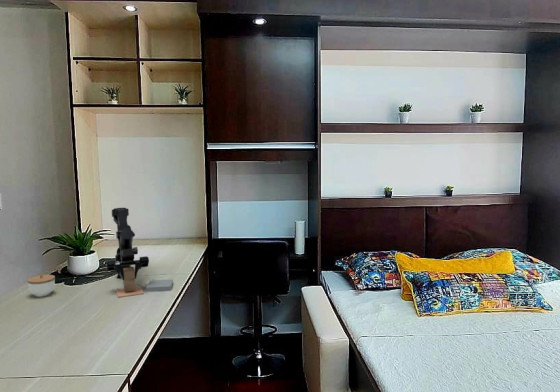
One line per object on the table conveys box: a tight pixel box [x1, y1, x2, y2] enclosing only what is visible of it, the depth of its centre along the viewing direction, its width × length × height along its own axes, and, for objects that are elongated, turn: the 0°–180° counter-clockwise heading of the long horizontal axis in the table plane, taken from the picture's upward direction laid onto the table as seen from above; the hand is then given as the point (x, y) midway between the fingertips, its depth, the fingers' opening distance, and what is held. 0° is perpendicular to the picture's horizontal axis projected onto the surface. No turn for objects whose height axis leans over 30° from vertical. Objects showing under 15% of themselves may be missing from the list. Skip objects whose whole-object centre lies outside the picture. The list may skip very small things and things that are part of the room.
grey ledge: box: [145, 278, 174, 292], centre depth 193 cm, size 11×11×2 cm
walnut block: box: [123, 266, 136, 292], centre depth 186 cm, size 4×4×10 cm
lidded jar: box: [27, 274, 56, 298], centre depth 183 cm, size 11×11×9 cm
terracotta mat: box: [116, 285, 145, 298], centre depth 186 cm, size 11×11×1 cm
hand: (129, 279), depth 184 cm, fingers open, 5 cm apart
